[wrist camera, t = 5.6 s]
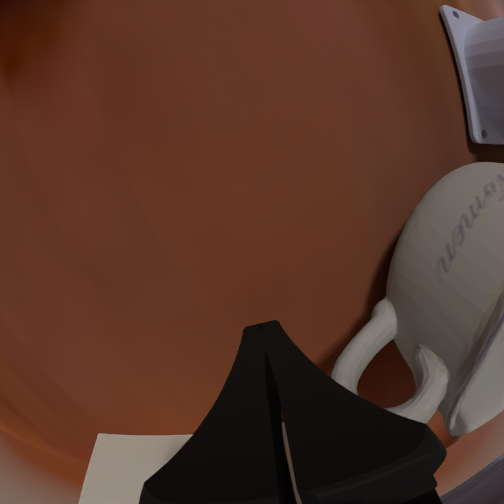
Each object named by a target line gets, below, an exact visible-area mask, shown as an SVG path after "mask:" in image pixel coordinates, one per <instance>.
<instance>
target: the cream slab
mask: <svg viewBox="0 0 504 504" xmlns="http://www.w3.org/2000/svg"><path fill="white" fill-rule="evenodd" d="M282 430H283V439H284V446H285V451H286V456H287V460H288V465H289V470H290V474H291V479H292V483H293V488H294V492H295V497H296V501H297V504H302V502H301V500H300V497H299V494H298V491H297V488H296V482H295V477H294V472H293V466H292V461H291V455H290V450H289V445H288V440H287V434H286V429H285V424H284V422H282ZM192 435H193V434H186V435H117V434H102V433H99V434H98V437H97V440H96V443H95V446H94V449H93V453H92V456H91V459H90V463H89V466H88V470H87V473H86V477H85V481H84V484H83V488H82V492H81V496H80V500H79V504H139V499H140V494H141V491H142V488H143V484H144V482H145V481H146V480H147V479H149V478H150V477H151V476H152V475H153V474H154V473H156V472H157V471H158V470H159V469H160V468H161V467H162V466H164V465H165V464H166V463H167V462H168V461H169V460H170V459H171V458H172V457H173V456H174V455H175V454H176V453H177V452H178V451H179V450H180V449H181V447H182V446H183V445H184V444H185V443H186V442H187V441H188V440H189V438H190V437H191V436H192Z"/></svg>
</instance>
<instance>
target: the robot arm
mask: <svg viewBox="0 0 504 504" xmlns="http://www.w3.org/2000/svg"><path fill="white" fill-rule="evenodd" d="M440 13H441V15H442V18H443V21H444V24H445V26H446V29H447V32H448V35H449V39H450V42H451V45H452V48H453V52H454V55H455V59H456V63H457V67H458V71H459V75H460V80H461V84H462V89H463V94H464V100H465V105H466V112H467V119H468V126H469V134H470V138H471V140H472V141H473V142H474V143H479V144H503V145H504V16H503V17H499V18H495V19H491V20H487V21H482V20H480V19H478V18H476V17H474V16H472V15H469V14H467V13H465V12H462V11H460V10H457V9H455V8H452V7H450V6H447V5H444V6H441V7H440ZM280 408H281V410H280ZM281 411H282V414H283V419H284V424H285V429H286V434H287V440H288V445H289V450H290V455H291V461H292V466H293V472H294V477H295V482H296V488H297V491H298V494H299V497H300V500H301V502H302V504H504V453H503V454H501V455H500V456H499V457H498V458H497V459H495V460H494V461H493V462H491V463H490V464H489V465H488V466H486V467H485V468H484V469H482V470H481V471H479V472H478V473H477V474H475V475H474V476H472V477H471V478H470V479H468V480H467V481H465V482H464V483H462V484H461V485H459V486H457V487H456V488H454V489H453V490H451V491H449V492H448V493H446V494H444V495H443V496H441V497H439V496H438V494H437V492H436V490H435V487H436V486H437V482H436V480H435V478H434V476H433V474H434V473H435V472H436V471H437V469H438V468H439V467H440V465H441V464H442V463H443V461H444V459H445V457H446V454H447V453H446V449H445V448H444V446H443V444H442V443H441V441H440V440H439V438H438V437H437V436H436V435H435V434H434V432H433V431H432V430H431V429H430V428H429V427H428V426H427V425H426V424H425V423H422V422H418V421H415V420H412V419H409V418H406V417H403V416H401V415H398V414H395V413H393V412H390V411H388V410H386V409H384V408H381V407H379V406H377V405H375V404H373V403H371V402H369V401H367V400H366V399H364V398H362V397H360V396H358V395H356V394H355V393H353V392H351V391H350V390H348V389H347V388H345V387H343V386H342V385H340V384H339V383H338V382H336V381H335V380H333V379H332V378H331V377H329V376H328V375H327V374H326V373H324V372H323V371H322V370H321V369H320V368H318V367H317V366H316V365H315V364H314V363H313V362H312V361H311V360H310V359H309V358H307V357H306V356H305V355H304V353H303V352H302V351H301V350H300V349H299V348H298V347H297V346H296V345H295V344H294V343H293V342H292V340H291V339H290V338H289V337H288V335H287V334H286V333H285V331H284V330H283V328H282V327H281V325H280V323H279V322H278V321H276V320H273V321H269V322H265V323H260V324H256V325H252V326H247V327H245V328H244V330H243V335H242V339H241V343H240V346H239V350H238V353H237V356H236V358H235V361H234V364H233V366H232V369H231V371H230V374H229V376H228V378H227V380H226V382H225V384H224V387H223V389H222V391H221V393H220V394H219V396H218V398H217V400H216V402H215V403H214V405H213V407H212V408H211V410H210V411H209V413H208V414H207V416H206V417H205V419H204V420H203V422H202V423H201V424H200V426H199V427H198V428H197V430H196V431H195V432H194V434H193V435H192V436H191V437H190V438H189V440H188V441H187V442H186V443H185V444H184V445H183V446H182V447H181V449H180V450H179V451H178V452H177V453H176V454H175V455H174V456H173V457H172V458H171V459H170V460H169V461H168V462H167V463H166V464H165V465H164V466H162V467H161V468H160V469H159V470H158V471H157V472H156V473H154V474H153V475H152V476H151V477H150V478H149V479H147V480H146V481H145V482H144V484H143V488H142V491H141V494H140V499H139V504H297V501H296V497H295V492H294V488H293V483H292V479H291V474H290V470H289V465H288V460H287V456H286V451H285V446H284V439H283V430H282V420H281Z"/></svg>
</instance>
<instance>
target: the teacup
mask: <svg viewBox="0 0 504 504" xmlns="http://www.w3.org/2000/svg"><path fill="white" fill-rule="evenodd" d="M393 339H394V341H395V344H396V346H397V347H398V349H399V351H400V353H401V354H402V356H403V358H404V359H405V361H406V363H407V364H408V366H409V367H410V369H411V371H412V373H413V377H414V380H415V385H416V389H415V393H414V394H413V396H412V397H411V398H410V399H409V400H407V401H406V402H405V403H403V404H401V405H398V406H395V407H391V408H384V409H386V410H388V411H390V412H393V413H395V414H398V415H401V416H403V417H406V418H409V419H412V420H415V421H418V422H422V423H425V424H426V423H427V422H428V421H429V420H430V418H431V417H432V416H433V414H434V413H435V411H436V410H437V409H438V411H439V412H440V414H441V415H442V417H443V419H444V422H445V427H446V429H447V431H448V432H449V434H450V435H453V436H460V435H462V434H466V433H469V432H472V431H473V430H475V429H477V428H479V427H480V426H482V425H483V424H485V423H486V422H488V421H489V420H491V419H492V418H494V417H495V416H496V415H497V414H499V413H500V412H501V411H503V410H504V164H503V163H494V162H478V163H472V164H468V165H465V166H462V167H460V168H458V169H456V170H453V171H452V172H450V173H449V174H447V175H445V176H444V177H443V178H442V179H440V180H439V181H438V182H437V183H436V184H435V185H434V186H433V187H432V188H431V189H430V190H429V191H428V192H427V193H426V194H425V196H424V197H423V198H422V199H421V201H420V202H419V203H418V205H417V206H416V207H415V209H414V211H413V212H412V214H411V216H410V217H409V219H408V221H407V222H406V224H405V226H404V228H403V231H402V233H401V235H400V237H399V239H398V242H397V245H396V247H395V250H394V254H393V257H392V260H391V264H390V268H389V273H388V279H387V286H386V297H385V298H384V299H383V300H381V301H380V302H378V303H377V304H376V306H375V307H374V309H373V311H372V315H371V320H370V321H369V322H368V323H367V324H366V325H365V326H364V327H363V328H362V329H361V330H360V331H359V332H358V333H357V334H356V336H355V337H354V338H353V339H352V340H351V341H350V342H349V343H348V344H347V346H346V347H345V349H344V350H343V352H342V353H341V355H340V356H339V357H338V359H337V360H336V362H335V364H334V367H333V370H332V372H331V375H330V377H331V378H332V379H333V380H335V381H336V382H338V383H339V384H340V385H342V386H343V387H345V388H347V389H348V390H350V391H351V392H353V393H355V394H356V395H358V394H357V384H358V380H359V378H360V376H361V374H362V373H363V371H364V369H365V368H366V366H367V365H368V363H369V362H370V361H371V360H372V359H373V357H374V356H375V355H376V354H377V353H378V352H379V351H380V350H381V349H382V348H383V347H384V346H385V345H386V344H387V343H388V342H390V341H391V340H393Z"/></svg>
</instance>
